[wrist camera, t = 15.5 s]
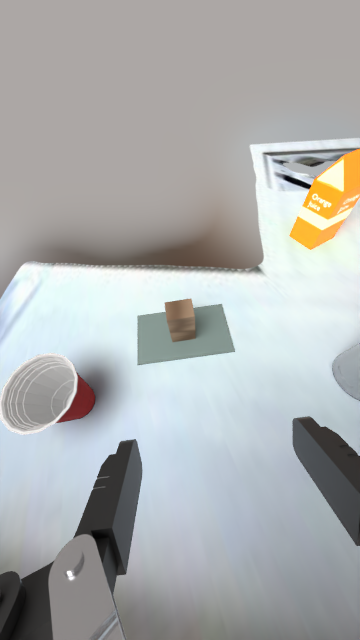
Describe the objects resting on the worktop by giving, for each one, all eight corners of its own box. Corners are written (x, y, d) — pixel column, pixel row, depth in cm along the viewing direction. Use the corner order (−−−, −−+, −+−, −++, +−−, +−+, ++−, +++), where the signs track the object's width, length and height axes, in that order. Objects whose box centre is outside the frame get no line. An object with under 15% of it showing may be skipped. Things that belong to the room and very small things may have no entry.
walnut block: (192, 323, 44) (191, 298, 37) (195, 338, 42) (194, 316, 35) (170, 326, 44) (164, 302, 37) (172, 342, 42) (166, 320, 35)
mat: (221, 304, 47) (221, 304, 46) (234, 351, 40) (234, 351, 40) (137, 316, 47) (137, 315, 47) (137, 364, 40) (137, 364, 40)
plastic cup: (51, 446, 34) (-11, 449, 24) (51, 386, 40) (1, 367, 29) (113, 422, 35) (78, 415, 25) (104, 367, 41) (73, 342, 31)
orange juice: (333, 237, 55) (393, 148, 38) (310, 250, 54) (362, 162, 37) (310, 224, 59) (355, 137, 42) (288, 235, 57) (326, 149, 40)
